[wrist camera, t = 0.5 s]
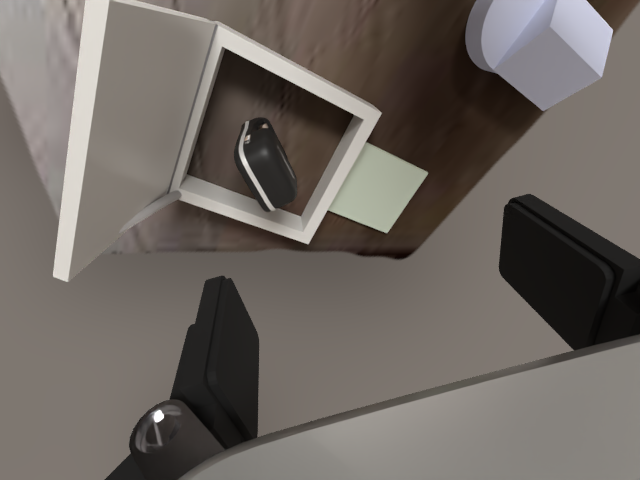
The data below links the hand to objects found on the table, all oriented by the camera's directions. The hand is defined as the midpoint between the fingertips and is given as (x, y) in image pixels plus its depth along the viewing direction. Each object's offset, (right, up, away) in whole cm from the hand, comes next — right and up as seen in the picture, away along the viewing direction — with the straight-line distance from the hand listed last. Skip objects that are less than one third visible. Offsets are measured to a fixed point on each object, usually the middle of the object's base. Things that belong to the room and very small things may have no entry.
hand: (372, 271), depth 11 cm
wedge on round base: (+20, +23, +25) cm, 40 cm away
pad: (+6, +8, +33) cm, 35 cm away
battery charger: (-8, +13, +28) cm, 32 cm away
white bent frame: (-9, +13, +28) cm, 32 cm away
